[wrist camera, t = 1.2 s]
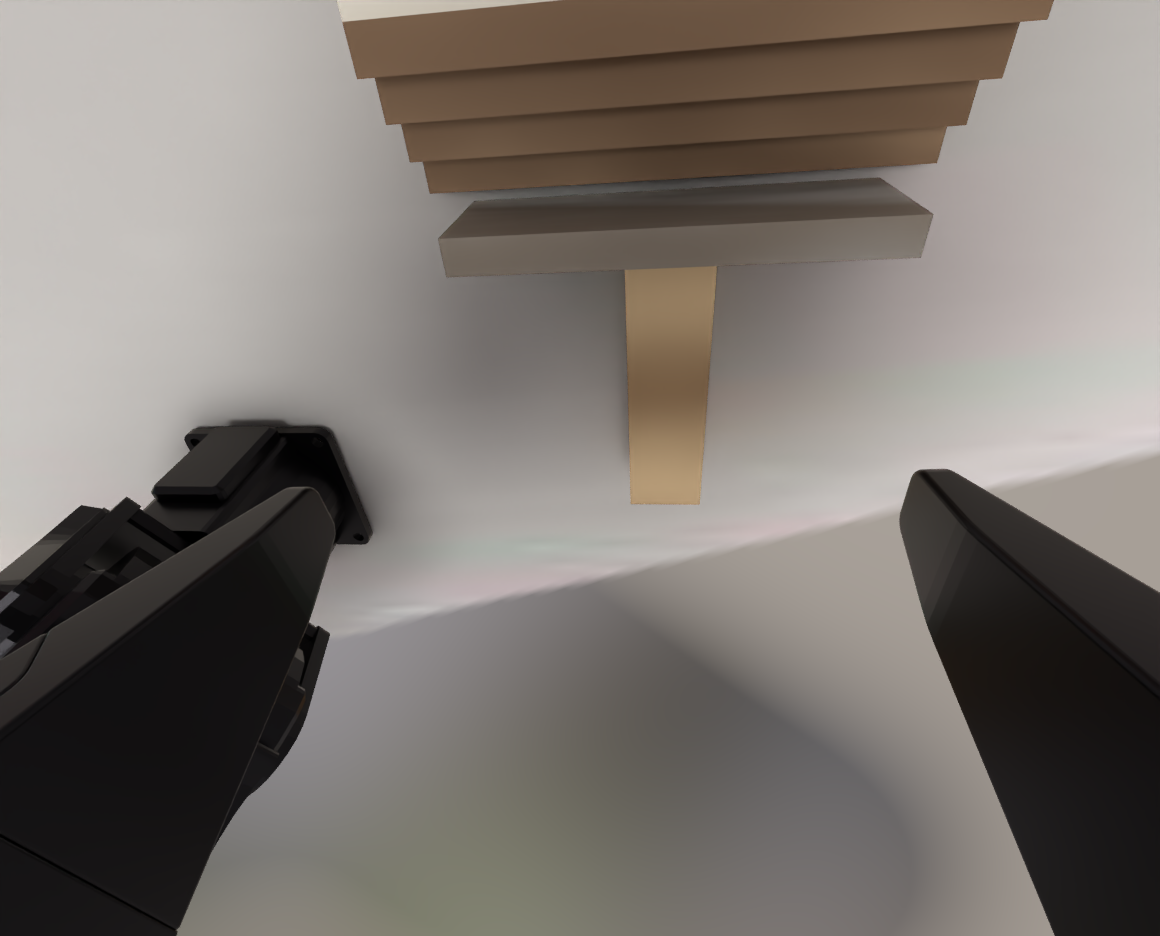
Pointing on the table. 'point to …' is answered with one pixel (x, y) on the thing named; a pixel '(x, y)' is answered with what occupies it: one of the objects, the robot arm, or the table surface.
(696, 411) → the scraper
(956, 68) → the bench
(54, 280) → the table surface
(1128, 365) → the table surface
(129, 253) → the table surface
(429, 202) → the table surface
